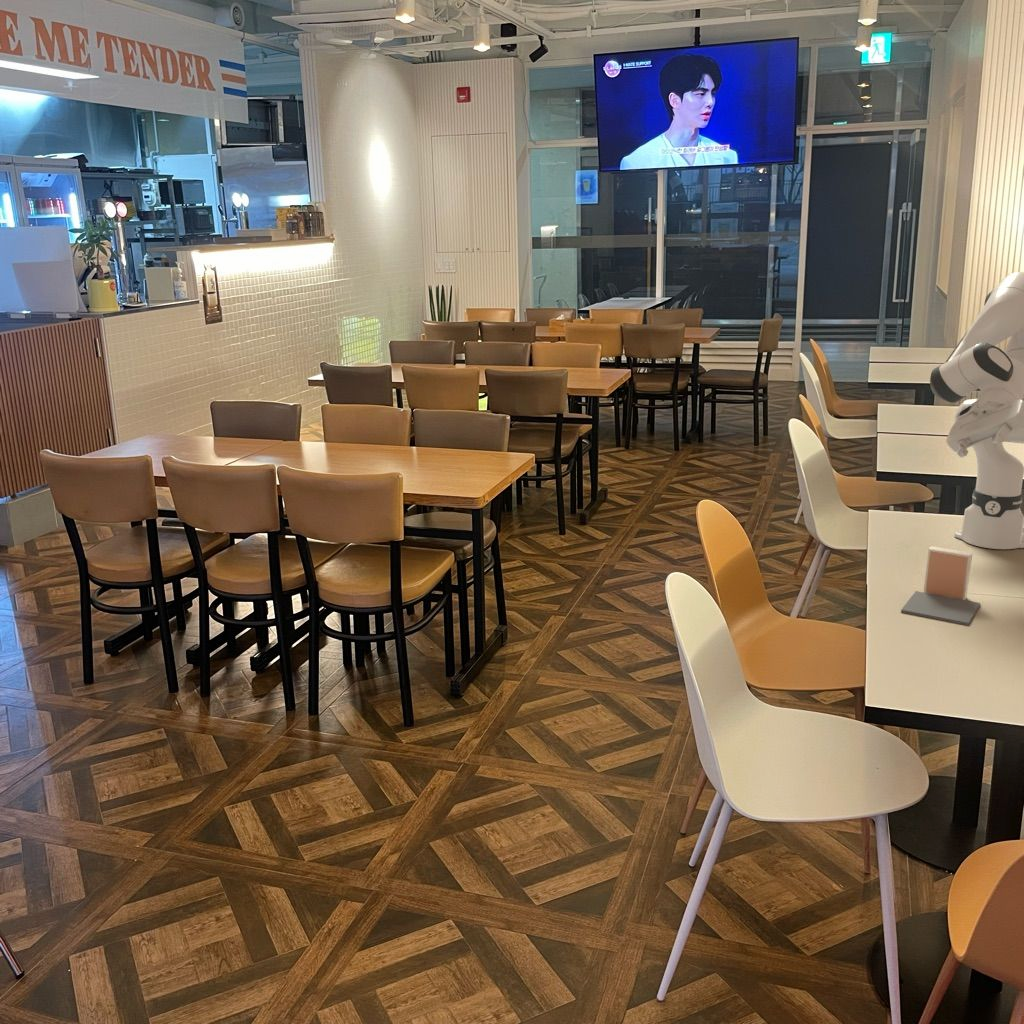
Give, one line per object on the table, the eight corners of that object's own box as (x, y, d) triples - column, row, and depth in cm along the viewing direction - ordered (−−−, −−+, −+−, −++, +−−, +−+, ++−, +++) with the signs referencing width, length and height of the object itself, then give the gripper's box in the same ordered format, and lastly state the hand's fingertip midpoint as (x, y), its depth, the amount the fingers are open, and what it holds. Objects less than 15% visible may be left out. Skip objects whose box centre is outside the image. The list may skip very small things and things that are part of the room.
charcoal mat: (915, 593, 232) (915, 590, 232) (980, 605, 225) (980, 602, 225) (900, 612, 221) (901, 609, 221) (968, 625, 214) (968, 622, 214)
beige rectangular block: (925, 590, 235) (931, 546, 232) (966, 597, 230) (972, 552, 227) (923, 593, 232) (928, 549, 229) (964, 601, 228) (970, 556, 225)
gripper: (1042, 404, 230) (1026, 443, 223) (967, 433, 247) (951, 470, 241) (1025, 385, 229) (1009, 424, 222) (951, 415, 246) (934, 452, 239)
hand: (978, 448), depth 231 cm, fingers open, 8 cm apart
